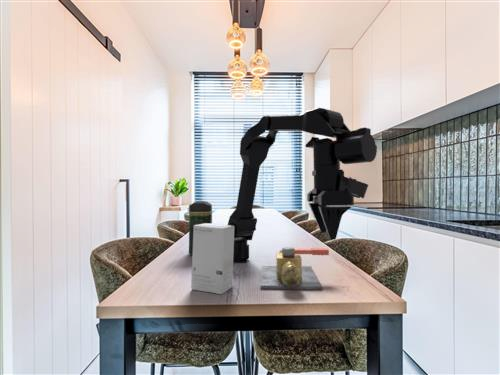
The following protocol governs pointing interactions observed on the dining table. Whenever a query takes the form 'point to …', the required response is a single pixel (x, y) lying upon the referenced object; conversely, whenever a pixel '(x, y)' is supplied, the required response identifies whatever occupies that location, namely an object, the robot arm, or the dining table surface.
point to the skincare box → (212, 257)
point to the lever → (304, 251)
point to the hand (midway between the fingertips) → (327, 235)
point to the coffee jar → (198, 218)
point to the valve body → (289, 274)
